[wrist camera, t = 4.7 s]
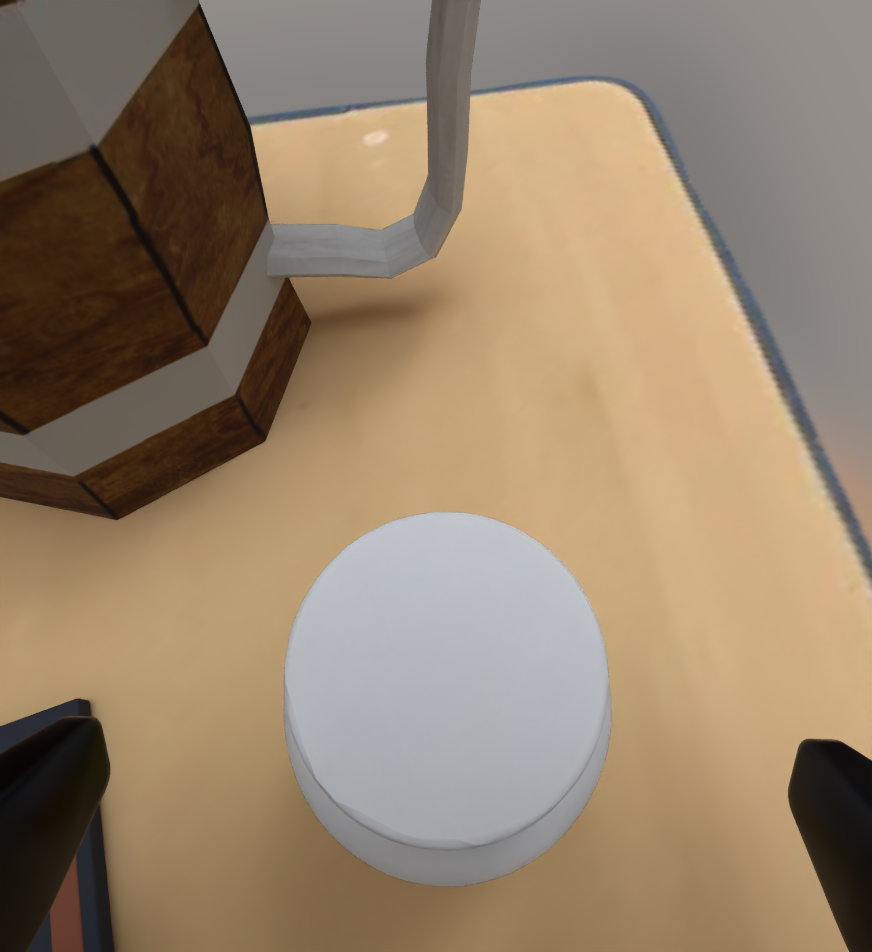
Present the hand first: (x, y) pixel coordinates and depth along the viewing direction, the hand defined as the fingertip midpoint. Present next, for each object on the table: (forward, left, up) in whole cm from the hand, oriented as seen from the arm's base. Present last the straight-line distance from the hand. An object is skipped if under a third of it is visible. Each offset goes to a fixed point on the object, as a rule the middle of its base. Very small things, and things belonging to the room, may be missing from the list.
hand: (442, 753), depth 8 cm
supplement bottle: (+1, 0, -9) cm, 9 cm away
